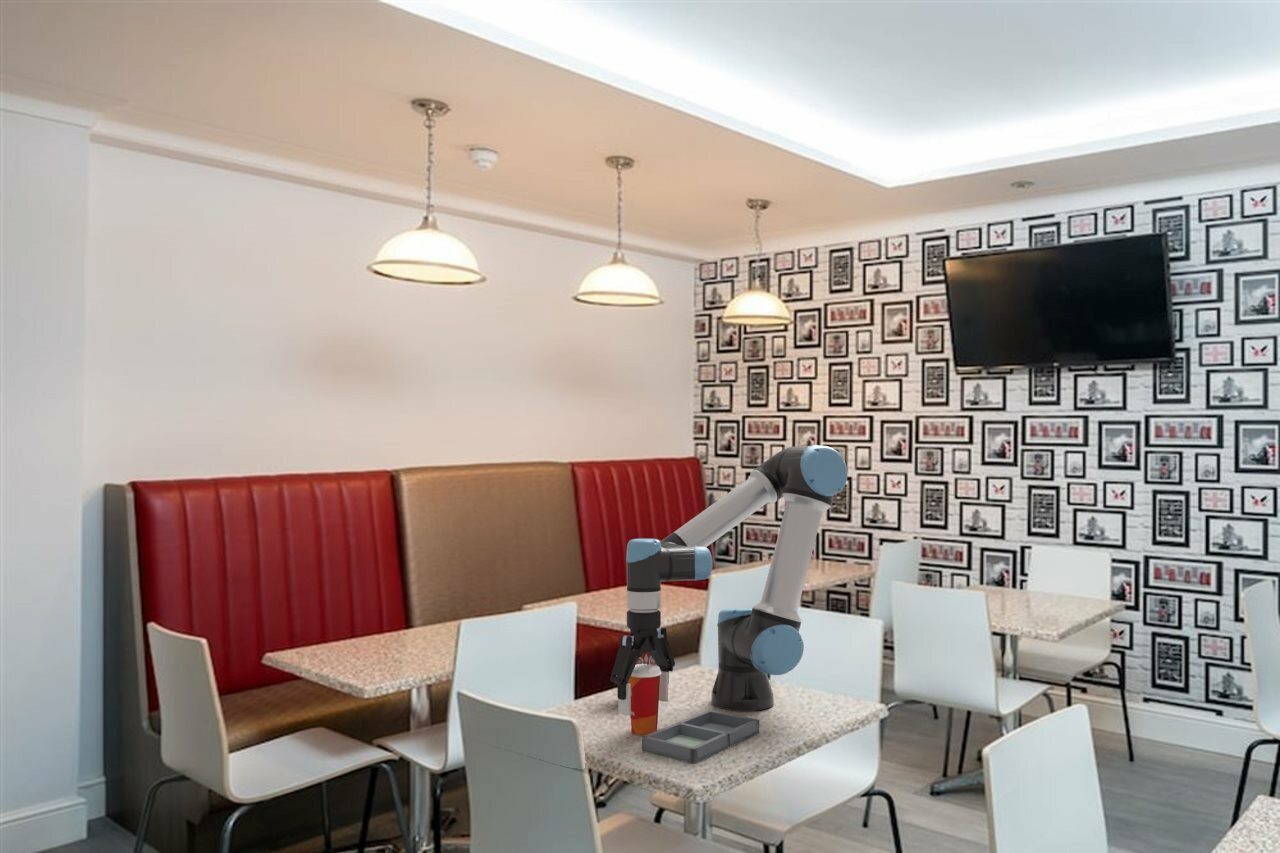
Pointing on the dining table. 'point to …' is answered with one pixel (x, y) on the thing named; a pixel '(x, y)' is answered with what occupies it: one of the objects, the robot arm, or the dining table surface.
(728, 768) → the dining table surface
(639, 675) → the paper cup
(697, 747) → the cup carrier
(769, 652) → the robot arm
